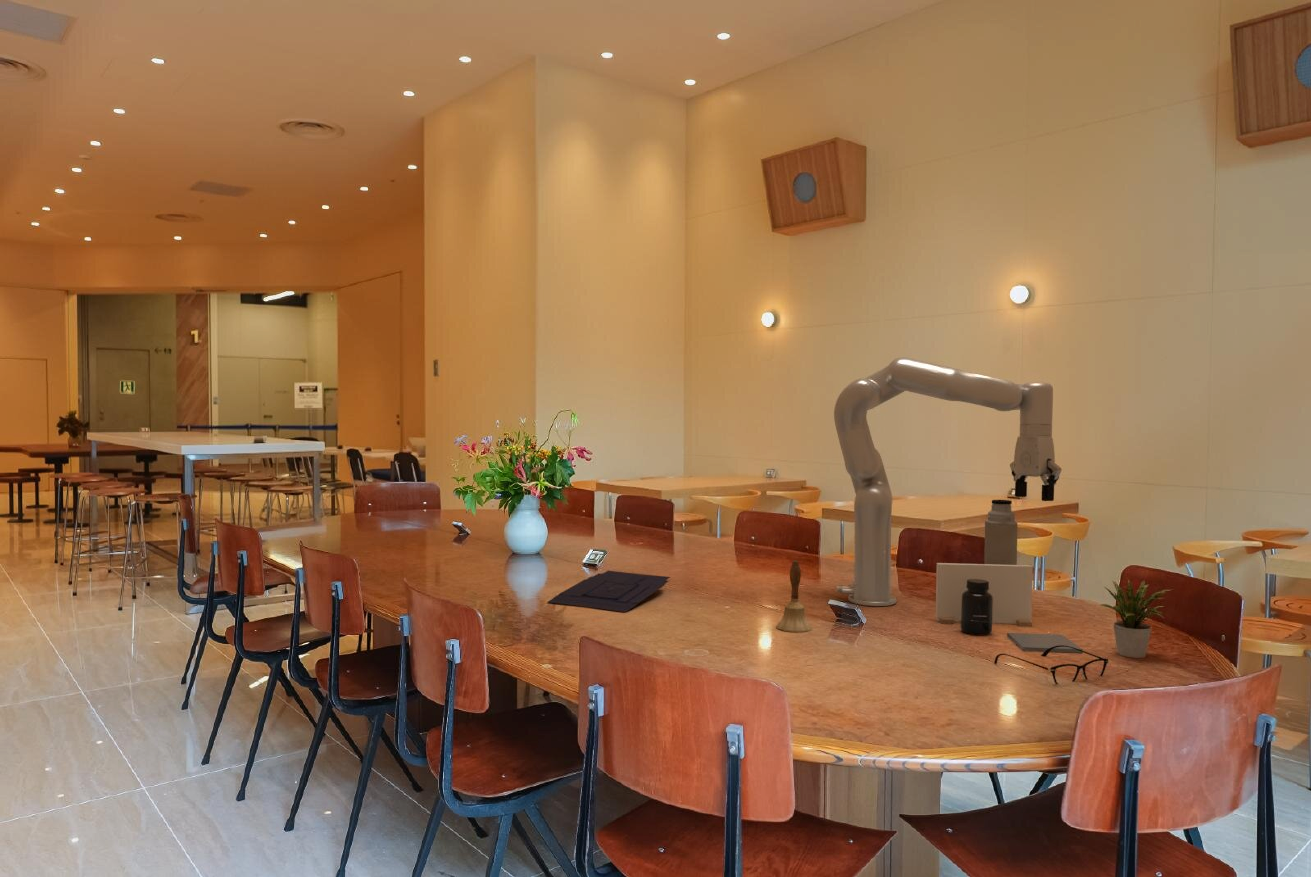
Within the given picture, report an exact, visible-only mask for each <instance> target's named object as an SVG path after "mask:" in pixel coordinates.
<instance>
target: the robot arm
mask: <svg viewBox="0 0 1311 877" xmlns="http://www.w3.org/2000/svg"><path fill="white" fill-rule="evenodd" d="M904 392H910V393H914V394H917V395H918V394H919V395H922V396H928V397H931V398H935V399H936V398H937V399H939V400H942V401H943V400H944V401H950V402H960V403H961V402H962V403H967V404H971V405H976V406H981V407H985V408H991V409H994V410H996V411H998V412H1010V411H1019V436H1017V438H1016V442H1015V443H1016V444H1015V447H1014V455H1013V461H1012V462H1011V463H1010V464H1009V468H1010V470H1011V476H1013V481H1014V483H1015V484H1014V497H1016V498H1027V496H1028V494H1027V492H1028V481H1026V480H1027V479H1028V477H1034V478H1035V477H1040V479H1041V482H1042V483H1043V484H1041V501H1042V502H1054V500H1055V486H1056V485H1057V481H1058V480H1060V475H1061V473H1062V468H1061V467H1060V465H1058V464H1057V463H1056V459H1055V445H1054V439H1053V410H1054V409H1053V405H1054V404H1053V403H1054V388H1053V385H1052V384H1051V383H1048V382H1025V383H1023V384H1022V383H1015V382H1012V381H1009V380H1006V379H1005V380H1004V379H1000V378H996V377H993V376H986V375H984V374H983V375H982V374H979V373H978V374H977V373H972V372H969V371H965V370H962V369H959V368H954V367H949V366H945V365H941V364H936V363H932V362H926V361H923V360H918V359H915V358H909V357H897V358H894V359H893V360H892V361H891V362H890V363H889V364H888V365H886V366H885V367H883V368H882V369H880V370H878V371H876V372H875V373H873V374H871V375H869V376H867V377H865V378H864V377H863V378H858V379H855V380H854V381H852V382H850V383H849V384H848V385H846V387H844V388H843V389H842V391H841V392H840V394H839V395H838V397H837V400H836V401H835V405H834V410H833V419H834V420H833V422H834V426H835V430H836V434H837V438H838V442H839V446H840V451H841V454H842V457H843V461H844V468H845V471H846V472H847V473H848V475H849V477H850V480H851V482H852V487H853V489H854V492H855V497H854V505H853V510H854V511H853V513H854V519H853V520H854V566H853V567H854V572H853V573H854V576H853V577H854V580H853V581H852V582H851V584H848V585H836V593H841V594H845V595H846V594H847V595H848V597H847V600H848V601H849V602H851V603H852V604H855V605H859V606H860V605H861V606H866V607H867V606H870V607H887V606H892V605H895V604H897V597H895V596H894V595H891V587H892V586H891V578H892V577H891V576H892V574H891V572H892V571H891V570H892V512H893V511H892V508H893V495H892V490H891V487H890V484H889V480H888V476H887V473H886V469H885V465H884V463H883V459H882V456H881V453H880V452H879V451H878V450H877V449H876V447H875V444H874V442H873V439H872V435H871V431H870V426H869V424H868V419H867V415H868V414H867V413H868V411H871V410H873V409H874V408H877V407H878V406H880V405H882V404H884V403H886V402H887V401H889V400H892V399H893V398H895V397H897V396H900V395H901V394H902V393H904Z"/></svg>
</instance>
